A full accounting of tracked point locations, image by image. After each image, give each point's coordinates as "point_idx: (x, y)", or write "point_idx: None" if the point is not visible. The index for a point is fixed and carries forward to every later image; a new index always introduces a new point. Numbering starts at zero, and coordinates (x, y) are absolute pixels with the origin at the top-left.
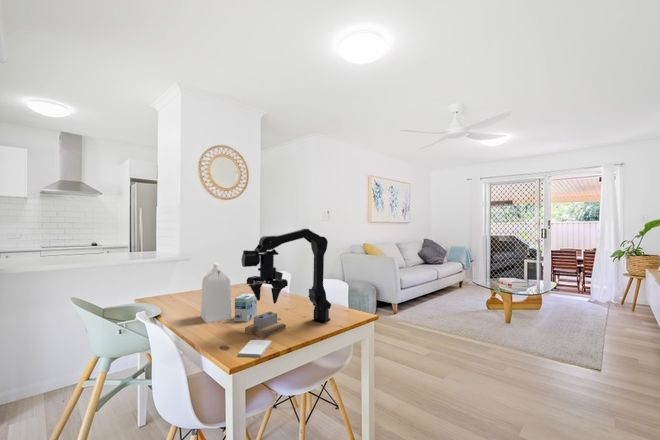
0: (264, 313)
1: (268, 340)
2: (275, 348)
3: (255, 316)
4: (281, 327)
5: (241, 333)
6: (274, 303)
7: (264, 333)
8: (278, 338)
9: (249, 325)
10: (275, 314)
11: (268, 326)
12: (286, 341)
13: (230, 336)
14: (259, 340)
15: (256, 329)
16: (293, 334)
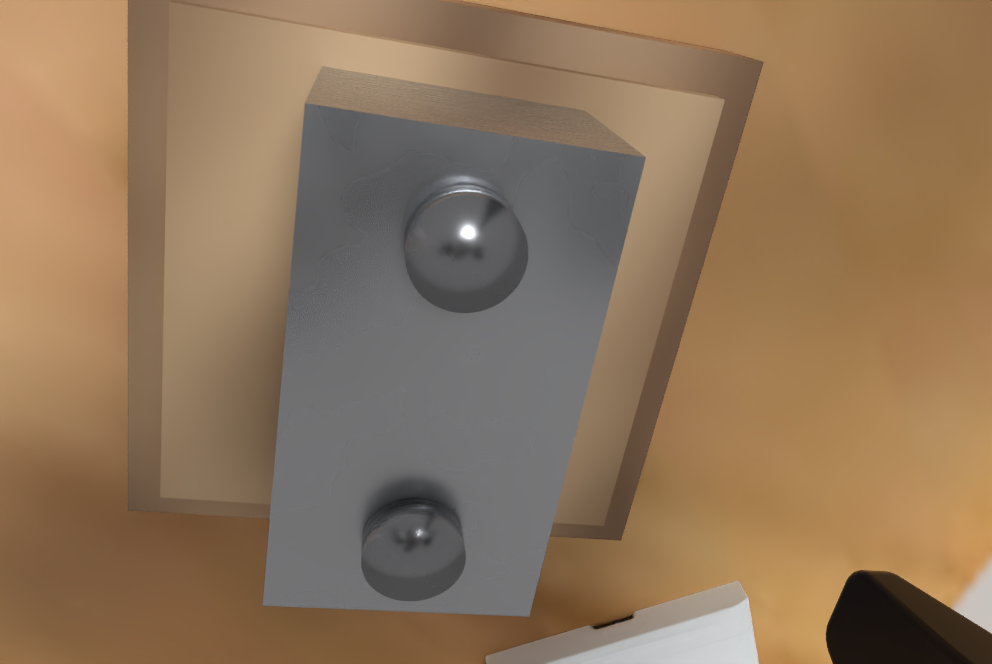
0: (308, 298)
1: (714, 614)
2: None
3: (272, 567)
4: (714, 191)
5: None
6: (851, 635)
7: (578, 527)
8: (766, 441)
9: (166, 464)
10: (625, 228)
11: None
12: (901, 476)
13: (92, 643)
14: (606, 654)
15: None
16: (931, 231)
